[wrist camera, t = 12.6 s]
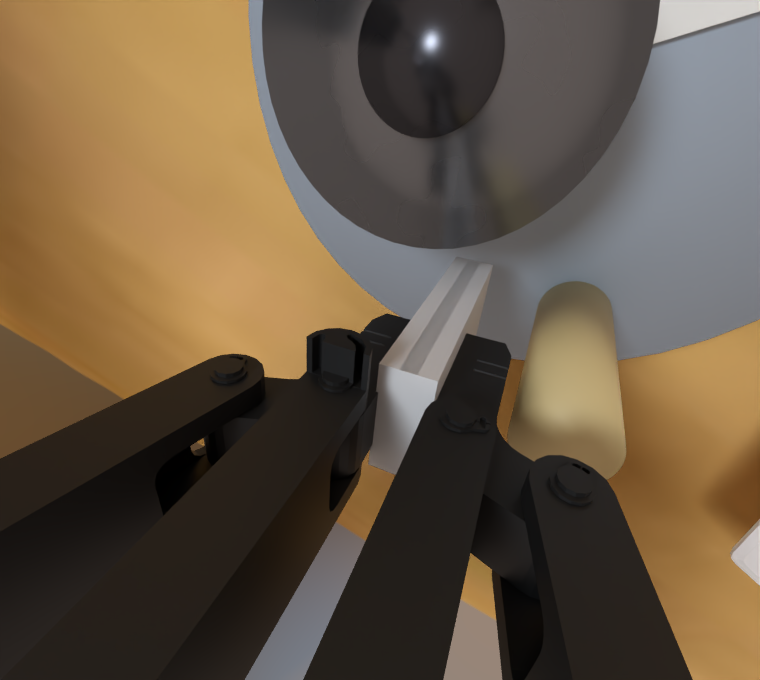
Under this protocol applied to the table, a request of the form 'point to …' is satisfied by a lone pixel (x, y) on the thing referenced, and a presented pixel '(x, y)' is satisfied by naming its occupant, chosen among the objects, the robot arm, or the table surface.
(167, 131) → the table surface
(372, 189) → the cover
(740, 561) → the bowl
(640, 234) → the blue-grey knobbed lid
